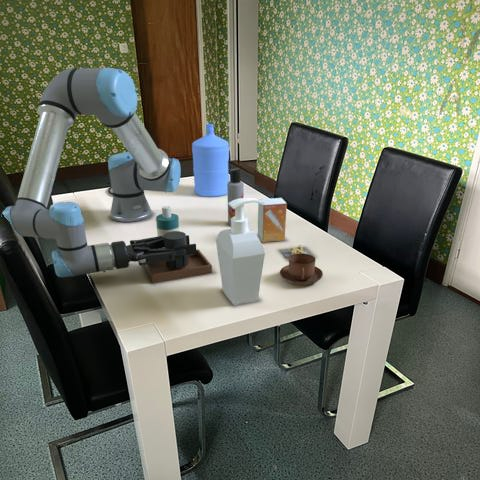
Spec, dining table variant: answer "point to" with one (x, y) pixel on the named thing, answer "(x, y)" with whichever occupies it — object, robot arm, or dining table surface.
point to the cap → (172, 241)
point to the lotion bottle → (234, 190)
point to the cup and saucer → (301, 270)
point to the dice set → (294, 251)
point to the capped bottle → (166, 222)
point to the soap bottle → (240, 257)
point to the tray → (179, 269)
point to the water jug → (210, 164)
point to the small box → (272, 219)
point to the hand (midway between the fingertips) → (192, 244)
